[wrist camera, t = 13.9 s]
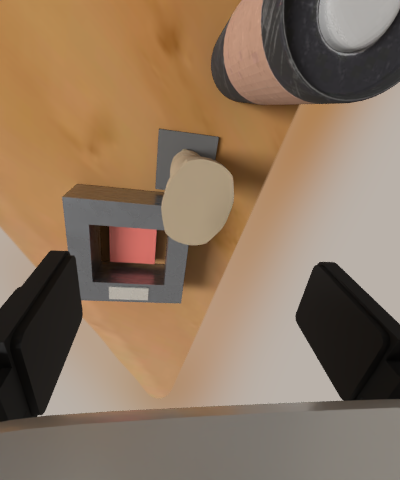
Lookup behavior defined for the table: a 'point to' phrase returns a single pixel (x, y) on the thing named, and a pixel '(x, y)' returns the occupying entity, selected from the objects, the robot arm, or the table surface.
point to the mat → (174, 144)
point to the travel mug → (308, 51)
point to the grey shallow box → (120, 273)
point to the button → (132, 245)
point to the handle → (196, 198)
